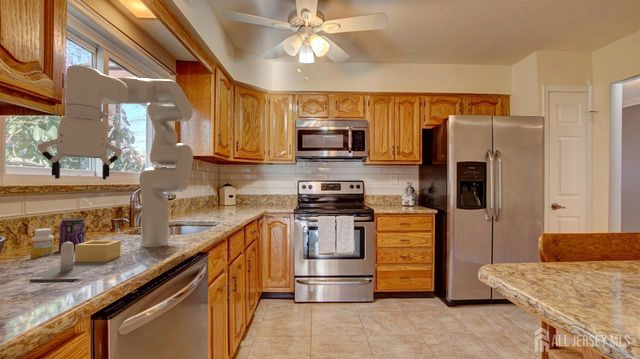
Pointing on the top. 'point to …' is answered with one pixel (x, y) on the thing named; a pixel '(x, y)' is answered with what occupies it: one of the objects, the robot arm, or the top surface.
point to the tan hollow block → (97, 251)
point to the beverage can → (72, 231)
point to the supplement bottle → (42, 243)
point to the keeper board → (67, 274)
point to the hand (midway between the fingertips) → (81, 179)
